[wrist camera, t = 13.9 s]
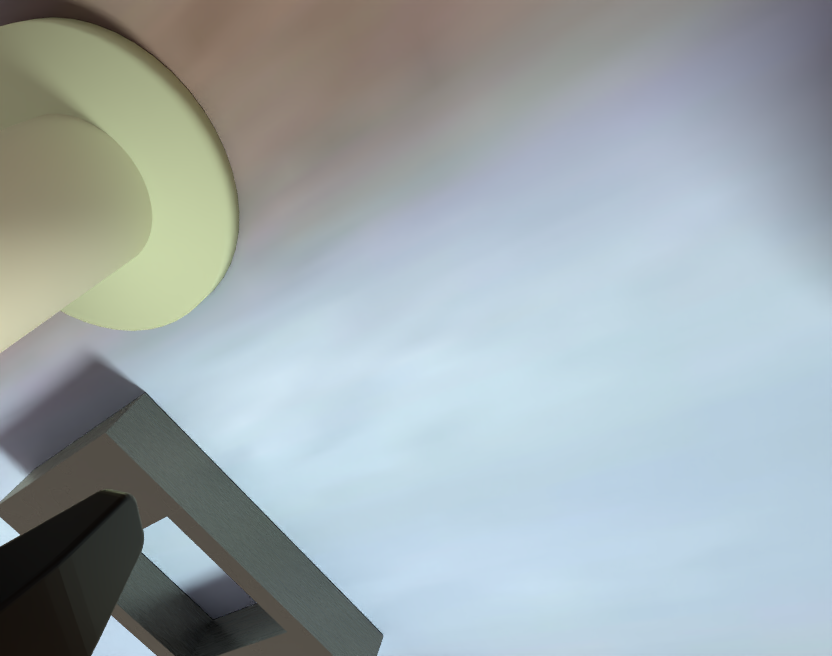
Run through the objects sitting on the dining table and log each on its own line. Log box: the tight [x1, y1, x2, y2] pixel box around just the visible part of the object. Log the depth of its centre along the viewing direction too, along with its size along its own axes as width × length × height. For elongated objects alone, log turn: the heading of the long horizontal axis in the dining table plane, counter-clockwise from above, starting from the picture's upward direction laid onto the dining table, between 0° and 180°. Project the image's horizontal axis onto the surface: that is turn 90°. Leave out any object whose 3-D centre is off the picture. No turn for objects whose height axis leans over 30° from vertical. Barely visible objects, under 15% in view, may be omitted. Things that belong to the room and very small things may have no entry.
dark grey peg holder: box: [0, 393, 383, 656], centre depth 31 cm, size 15×9×2 cm, turn 39°
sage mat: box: [0, 17, 239, 331], centre depth 23 cm, size 10×10×1 cm
